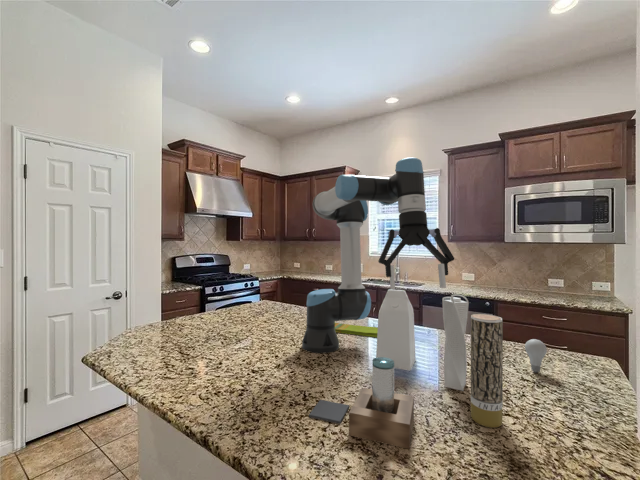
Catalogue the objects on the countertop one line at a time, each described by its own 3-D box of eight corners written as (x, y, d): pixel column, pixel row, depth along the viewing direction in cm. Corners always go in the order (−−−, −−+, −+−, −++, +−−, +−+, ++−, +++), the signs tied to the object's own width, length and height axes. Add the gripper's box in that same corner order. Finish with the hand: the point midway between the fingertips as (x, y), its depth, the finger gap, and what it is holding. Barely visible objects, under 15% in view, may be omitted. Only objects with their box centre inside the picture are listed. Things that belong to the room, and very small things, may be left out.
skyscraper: (466, 394, 89) (467, 295, 89) (439, 387, 93) (439, 293, 93) (470, 383, 96) (470, 292, 96) (444, 378, 100) (444, 290, 100)
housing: (348, 435, 69) (348, 412, 69) (361, 406, 82) (361, 387, 82) (409, 448, 65) (409, 424, 65) (413, 416, 77) (413, 396, 77)
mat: (308, 417, 76) (308, 414, 76) (320, 401, 84) (320, 399, 84) (340, 423, 74) (340, 421, 74) (349, 407, 81) (349, 405, 81)
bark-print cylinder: (465, 414, 79) (465, 314, 79) (490, 413, 79) (490, 313, 80) (481, 429, 72) (481, 320, 72) (509, 428, 72) (509, 320, 73)
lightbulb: (543, 370, 107) (543, 337, 107) (549, 377, 101) (549, 343, 101) (522, 367, 109) (522, 336, 109) (527, 374, 103) (527, 341, 103)
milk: (415, 359, 116) (415, 289, 116) (410, 370, 105) (410, 293, 106) (383, 354, 121) (383, 287, 121) (375, 364, 111) (376, 291, 111)
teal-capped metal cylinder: (370, 429, 72) (370, 363, 72) (374, 417, 76) (374, 356, 77) (392, 433, 70) (392, 366, 70) (395, 422, 75) (395, 358, 75)
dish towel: (326, 324, 169) (326, 318, 169) (394, 332, 155) (394, 325, 155) (315, 331, 154) (315, 324, 154) (388, 340, 140) (388, 333, 140)
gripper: (369, 211, 85) (373, 290, 82) (462, 207, 84) (470, 287, 81) (366, 217, 93) (370, 289, 89) (451, 214, 92) (458, 287, 89)
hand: (417, 288), depth 85 cm, fingers open, 13 cm apart
